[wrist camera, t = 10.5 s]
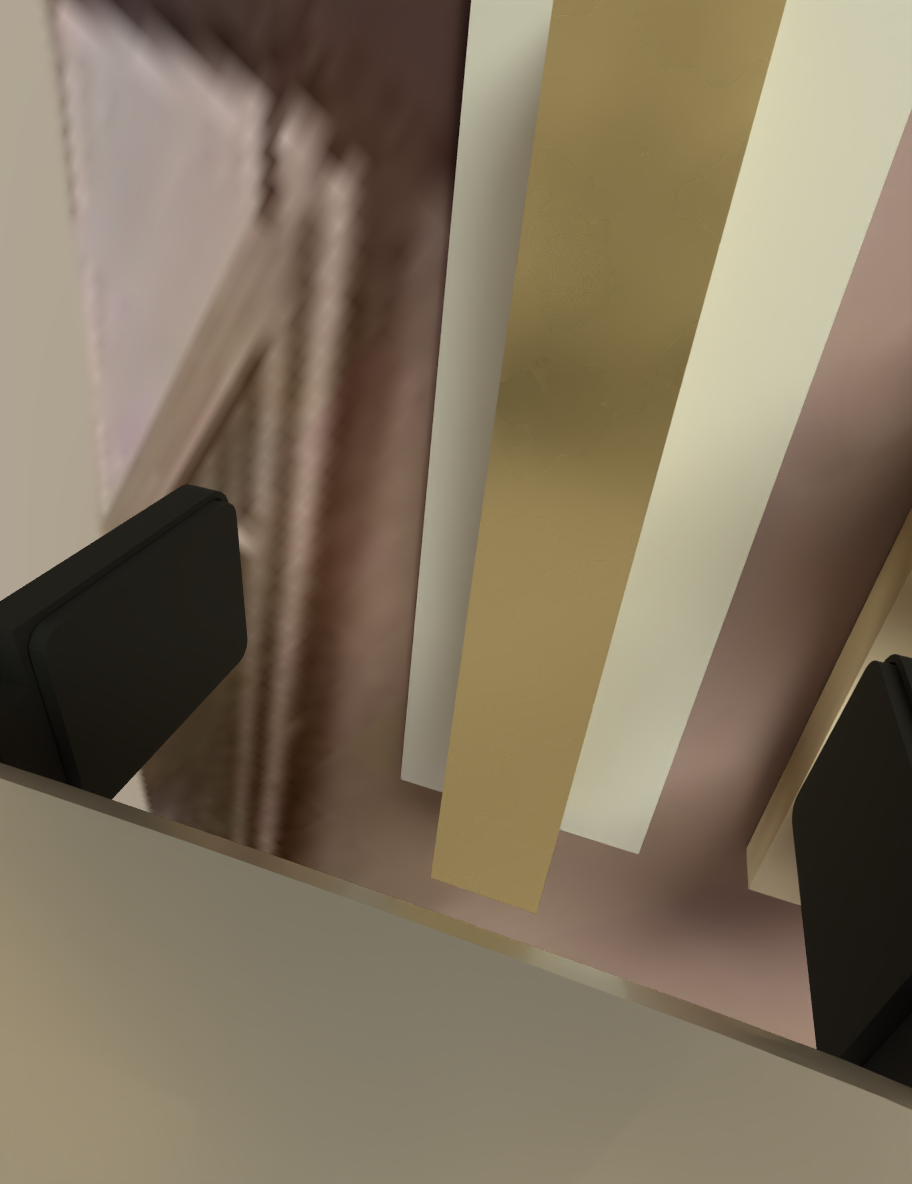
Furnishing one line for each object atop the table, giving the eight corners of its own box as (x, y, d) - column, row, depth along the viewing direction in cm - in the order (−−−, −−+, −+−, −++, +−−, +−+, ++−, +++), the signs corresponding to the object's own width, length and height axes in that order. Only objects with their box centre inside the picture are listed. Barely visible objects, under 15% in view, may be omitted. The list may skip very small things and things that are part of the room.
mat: (490, -101, 13) (481, -112, 12) (972, -78, 11) (984, -90, 11) (406, 767, 24) (400, 779, 24) (640, 839, 23) (638, 854, 22)
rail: (606, -34, 12) (569, -113, 9) (785, -21, 12) (814, -102, 9) (471, 777, 23) (430, 877, 20) (562, 805, 22) (536, 913, 19)
